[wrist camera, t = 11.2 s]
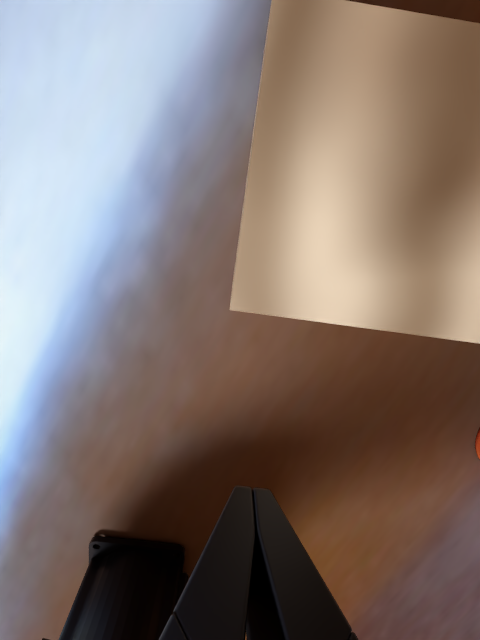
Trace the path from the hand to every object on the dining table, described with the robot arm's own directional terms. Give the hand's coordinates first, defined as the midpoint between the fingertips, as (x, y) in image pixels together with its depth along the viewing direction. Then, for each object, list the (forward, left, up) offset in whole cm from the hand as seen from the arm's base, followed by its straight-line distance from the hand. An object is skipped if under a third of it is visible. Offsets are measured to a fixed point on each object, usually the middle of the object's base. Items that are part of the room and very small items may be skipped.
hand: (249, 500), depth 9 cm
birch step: (+6, +7, -12) cm, 15 cm away
